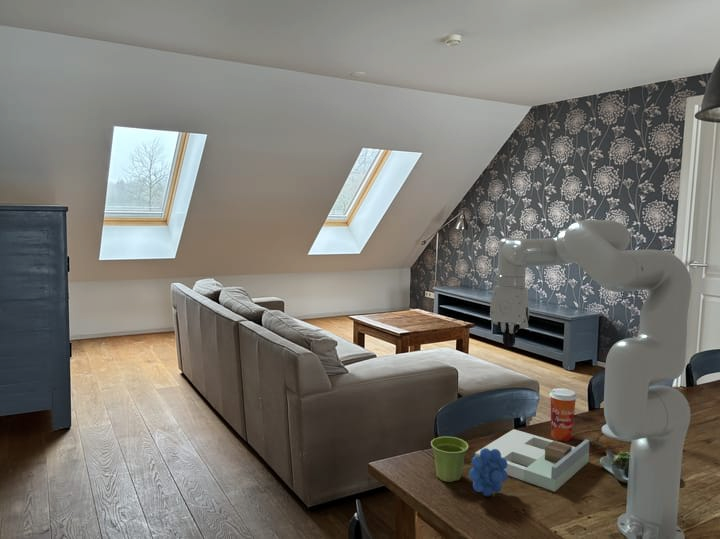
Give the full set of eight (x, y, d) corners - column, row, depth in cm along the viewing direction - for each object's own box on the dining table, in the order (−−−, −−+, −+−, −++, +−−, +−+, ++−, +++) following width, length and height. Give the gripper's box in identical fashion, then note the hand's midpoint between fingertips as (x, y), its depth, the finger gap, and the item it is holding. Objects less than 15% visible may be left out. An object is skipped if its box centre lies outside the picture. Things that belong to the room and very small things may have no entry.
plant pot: (468, 470, 146) (469, 438, 145) (465, 488, 137) (466, 454, 136) (433, 466, 148) (433, 434, 147) (427, 482, 139) (428, 449, 138)
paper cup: (548, 441, 165) (550, 394, 163) (546, 431, 172) (548, 386, 170) (577, 443, 163) (579, 397, 161) (573, 433, 170) (575, 388, 169)
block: (563, 465, 142) (564, 452, 142) (544, 459, 146) (545, 446, 145) (571, 459, 146) (571, 446, 146) (552, 453, 149) (553, 440, 149)
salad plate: (580, 457, 154) (581, 441, 154) (638, 453, 158) (639, 437, 157) (625, 492, 136) (626, 474, 135) (690, 486, 139) (691, 469, 138)
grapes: (481, 510, 126) (483, 459, 125) (462, 497, 132) (463, 448, 131) (519, 497, 132) (521, 449, 131) (498, 485, 138) (500, 438, 137)
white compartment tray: (554, 491, 135) (555, 467, 134) (474, 463, 150) (475, 441, 149) (588, 461, 151) (589, 440, 151) (513, 438, 166) (514, 419, 165)
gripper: (480, 280, 159) (478, 343, 161) (530, 285, 149) (527, 353, 151) (493, 278, 165) (491, 339, 167) (542, 283, 155) (539, 348, 157)
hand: (508, 345), depth 159 cm, fingers closed
